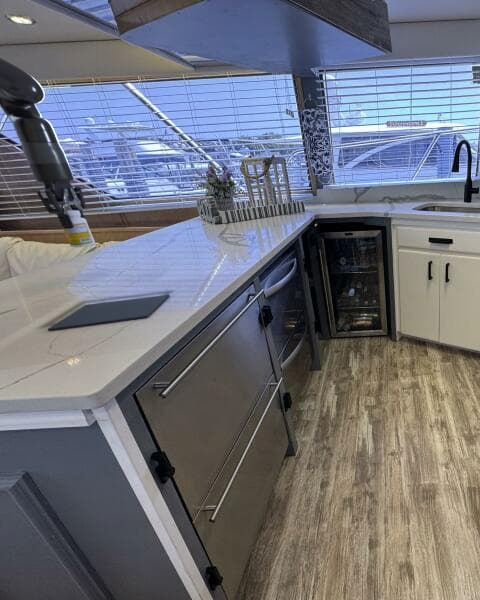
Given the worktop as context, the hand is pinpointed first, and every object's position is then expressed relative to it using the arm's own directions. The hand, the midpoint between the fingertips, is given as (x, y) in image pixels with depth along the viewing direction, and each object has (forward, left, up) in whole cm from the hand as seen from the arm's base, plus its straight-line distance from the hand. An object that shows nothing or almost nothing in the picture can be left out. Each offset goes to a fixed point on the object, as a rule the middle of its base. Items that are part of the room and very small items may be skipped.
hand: (75, 226), depth 91 cm
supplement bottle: (0, 0, -6) cm, 6 cm away
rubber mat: (+18, -31, -16) cm, 39 cm away
